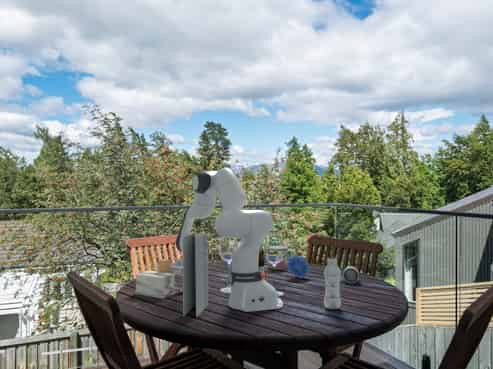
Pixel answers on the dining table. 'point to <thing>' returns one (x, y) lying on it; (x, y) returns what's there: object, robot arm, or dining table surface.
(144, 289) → the block
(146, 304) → the dining table surface
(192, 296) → the brochure
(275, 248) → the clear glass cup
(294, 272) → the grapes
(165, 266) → the tan rectangular block
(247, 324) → the dining table surface
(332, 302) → the plastic bottle
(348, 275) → the ceramic mug
